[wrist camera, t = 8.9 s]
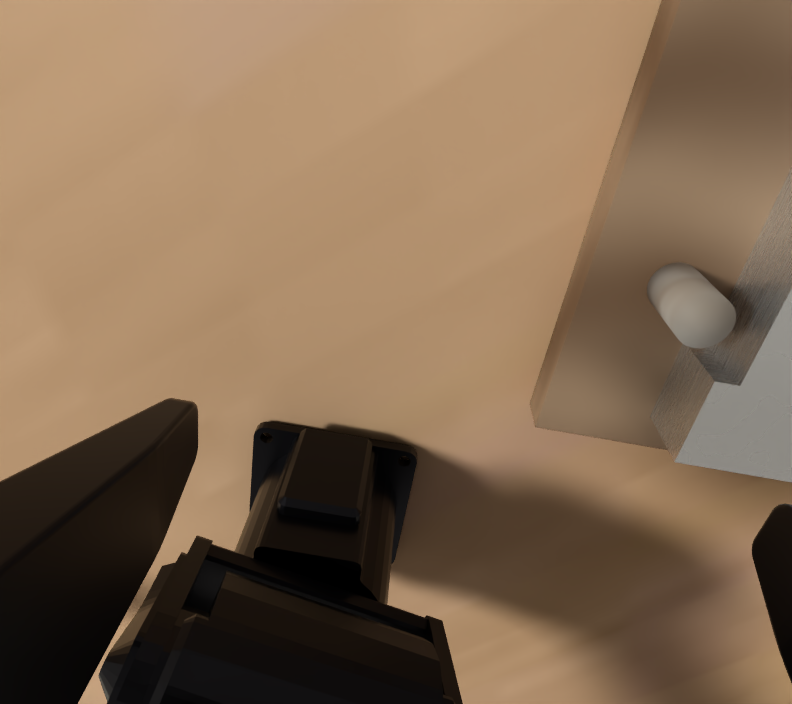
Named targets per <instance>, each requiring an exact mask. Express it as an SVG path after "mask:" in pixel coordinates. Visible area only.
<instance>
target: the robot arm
mask: <svg viewBox="0 0 792 704" xmlns="http://www.w3.org/2000/svg"><path fill="white" fill-rule="evenodd" d="M263 433H269V434H271V435H272V437H267V436H265V435H264V434H263ZM197 450H198V409H197V405H196V404H195V403H194V402H191V401H185V400H180V399H174V398H169V399H166V400H164V401H162V402H160V403H157V404H155V405H153V406H151V407H149V408H147V409H145V410H143V411H141V412H139V413H137V414H135V415H133V416H131V417H129V418H127V419H125V420H123V421H121V422H119V423H117V424H115V425H113V426H111V427H109V428H107V429H105V430H103V431H101V432H99V433H97V434H95V435H93V436H91V437H89V438H87V439H85V440H83V441H81V442H79V443H77V444H75V445H73V446H71V447H69V448H67V449H65V450H63V451H61V452H59V453H57V454H55V455H53V456H51V457H49V458H47V459H45V460H43V461H41V462H39V463H37V464H35V465H33V466H31V467H29V468H26V469H24V470H22V471H20V472H18V473H16V474H14V475H12V476H10V477H8V478H6V479H4V480H2V481H0V704H78V702H79V700H80V698H81V696H82V694H83V692H84V691H85V689H86V687H87V685H88V683H89V681H90V679H91V678H92V676H93V674H94V672H95V670H96V668H97V666H98V664H99V663H100V661H101V659H102V657H103V655H104V653H105V651H106V649H107V648H108V646H109V644H110V642H111V640H112V638H113V636H114V635H115V633H116V631H117V629H118V627H119V625H120V623H121V621H122V620H123V618H124V616H125V614H126V612H127V610H128V608H129V606H130V605H131V603H132V601H133V599H134V597H135V595H136V593H137V592H138V590H139V588H140V586H141V584H142V582H143V580H144V578H145V577H146V575H147V573H148V571H149V569H150V567H151V565H152V564H153V562H154V560H155V558H156V556H157V554H158V552H159V550H160V548H161V545H162V543H163V540H164V538H165V536H166V533H167V531H168V528H169V526H170V523H171V520H172V518H173V515H174V513H175V510H176V508H177V505H178V503H179V500H180V497H181V495H182V492H183V490H184V487H185V485H186V482H187V480H188V477H189V474H190V472H191V469H192V467H193V464H194V462H195V459H196V455H197ZM402 456H406V457H408V458H409V459H408V460H402V459H400V457H402ZM416 464H417V452H416V450H415V449H414V448H412V447H411V446H408V445H403V444H397V443H391V442H385V441H379V440H373V439H368V438H363V437H357V436H351V435H345V434H339V433H334V432H328V431H322V430H316V429H310V428H303V427H297V426H291V425H285V424H280V423H274V422H263V423H260V424H259V425H258V427H257V429H256V431H255V434H254V442H253V460H252V478H251V496H250V513H249V516H248V518H247V521H246V524H245V526H244V529H243V531H242V534H241V536H240V539H239V542H238V544H237V547H236V549H235V552H234V551H231V550H228V549H225V548H222V547H219V546H216V545H214V544H212V542H213V541H212V540H209V539H206V538H203V537H200V536H196V538H195V540H194V542H193V544H192V546H191V548H190V550H189V552H188V553H187V554H185V553H182V552H181V554H180V556H179V558H178V560H177V561H176V563H172V564H168V565H164V566H162V567H161V569H160V571H159V573H158V575H157V577H156V579H155V581H154V583H153V585H152V587H151V589H150V591H149V593H148V595H147V596H146V598H145V600H144V602H143V604H142V606H141V607H140V609H139V611H138V612H137V614H136V615H135V617H134V618H133V619H132V621H131V622H130V624H129V625H128V626H127V628H126V629H125V631H124V632H123V634H122V635H121V636H120V638H119V639H118V641H117V642H116V643H115V645H114V646H113V648H112V649H111V650H110V652H109V654H108V656H107V657H106V659H105V661H104V664H103V666H102V668H101V670H100V673H99V679H100V682H101V685H102V688H103V690H104V693H105V696H106V699H107V704H463V703H462V699H461V695H460V691H459V687H458V683H457V679H456V674H455V670H454V666H453V662H452V658H451V654H450V650H449V646H448V642H447V638H446V634H445V630H444V626H443V622H442V620H439V619H436V618H433V617H430V616H426V617H425V618H424V617H421V616H418V615H415V614H413V613H410V612H407V611H404V610H401V609H398V608H395V607H392V606H389V605H387V601H388V590H389V580H390V569H391V564H392V563H393V562H394V560H395V556H396V552H397V547H398V543H399V539H400V534H401V530H402V526H403V521H404V517H405V512H406V508H407V504H408V499H409V495H410V491H411V486H412V482H413V478H414V473H415V469H416ZM752 557H753V561H754V564H755V568H756V571H757V575H758V578H759V582H760V585H761V589H762V593H763V596H764V600H765V603H766V607H767V610H768V614H769V617H770V621H771V624H772V628H773V632H774V635H775V638H776V641H777V645H778V648H779V651H780V654H781V657H782V659H783V662H784V665H785V668H786V670H787V673H788V675H789V678H790V680H791V683H792V505H790V504H780V505H778V506H777V507H775V508H774V509H773V510H772V512H771V514H770V515H769V517H768V518H767V520H766V521H765V523H764V525H763V526H762V528H761V529H760V531H759V532H758V534H757V536H756V537H755V539H754V541H753V544H752Z"/></svg>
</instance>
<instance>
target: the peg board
mask: <svg viewBox="0 0 792 704" xmlns="http://www.w3.org/2000/svg"><path fill="white" fill-rule="evenodd" d="M791 167H792V0H662V2H661V5H660V8H659V11H658V14H657V17H656V20H655V23H654V26H653V29H652V32H651V35H650V38H649V41H648V44H647V47H646V51H645V54H644V57H643V60H642V63H641V66H640V69H639V72H638V75H637V78H636V81H635V84H634V87H633V90H632V93H631V96H630V99H629V102H628V106H627V109H626V112H625V115H624V118H623V121H622V124H621V127H620V130H619V133H618V136H617V139H616V142H615V145H614V148H613V151H612V154H611V157H610V160H609V164H608V167H607V170H606V173H605V176H604V179H603V182H602V185H601V188H600V191H599V194H598V197H597V200H596V203H595V206H594V209H593V212H592V215H591V219H590V222H589V225H588V228H587V231H586V234H585V237H584V240H583V243H582V246H581V249H580V252H579V255H578V258H577V261H576V264H575V267H574V270H573V274H572V277H571V280H570V283H569V286H568V289H567V292H566V295H565V298H564V301H563V304H562V307H561V310H560V313H559V316H558V319H557V322H556V325H555V329H554V332H553V335H552V338H551V341H550V344H549V347H548V350H547V353H546V356H545V359H544V362H543V365H542V368H541V371H540V374H539V377H538V380H537V384H536V387H535V390H534V393H533V396H532V399H531V402H530V407H531V411H532V415H533V420H534V424H535V427H537V428H542V429H548V430H554V431H560V432H566V433H572V434H577V435H583V436H589V437H595V438H601V439H606V440H612V441H618V442H624V443H630V444H636V445H641V446H647V447H653V448H659V449H665V450H668V449H667V447H666V445H665V443H664V442H663V440H662V438H661V436H660V434H659V432H658V430H657V428H656V426H655V425H654V423H653V421H652V419H651V417H650V415H651V412H652V410H653V408H654V406H655V404H656V401H657V399H658V397H659V395H660V393H661V390H662V388H663V386H664V384H665V382H666V379H667V377H668V375H669V373H670V371H671V368H672V366H673V364H674V362H675V359H676V357H677V355H678V353H679V351H680V348H681V346H682V344H684V345H686V346H689V347H692V348H706V347H710V346H713V345H715V344H717V343H719V342H721V341H722V340H723V339H725V338H726V337H727V336H728V335H729V334H730V332H731V331H732V329H733V327H734V325H735V322H736V311H735V309H734V307H733V305H732V304H731V303H730V302H729V301H728V299H729V297H730V295H731V293H732V290H733V288H734V286H735V284H736V282H737V280H738V278H739V276H740V274H741V272H742V270H743V267H744V265H745V263H746V261H747V259H748V257H749V255H750V253H751V251H752V249H753V246H754V244H755V242H756V240H757V238H758V236H759V234H760V232H761V230H762V228H763V225H764V223H765V221H766V219H767V217H768V215H769V213H770V211H771V209H772V207H773V205H774V202H775V200H776V198H777V196H778V194H779V192H780V190H781V188H782V186H783V184H784V181H785V179H786V177H787V175H788V173H789V171H790V169H791Z"/></svg>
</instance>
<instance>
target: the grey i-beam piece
mask: <svg viewBox="0 0 792 704" xmlns="http://www.w3.org/2000/svg"><path fill="white" fill-rule="evenodd" d="M728 301H729V302H730V303H731V304H732V305H733V307H734V309H735V311H736V322H735V325H734V327H733V329H732V331H731V332H730V334H729V335H728V336H727V337H726V338H725V339H723V340H722V341H721V342H719V343H717V344H715V345H713V346H710V347H706V348H692V347H689V346H686V345H684V344H682V346H681V348H680V351H679V353H678V355H677V357H676V359H675V362H674V364H673V366H672V368H671V371H670V373H669V375H668V377H667V379H666V382H665V384H664V386H663V388H662V390H661V393H660V395H659V397H658V399H657V401H656V404H655V406H654V408H653V410H652V412H651V415H650V417H651V419H652V421H653V423H654V425H655V426H656V428H657V430H658V432H659V434H660V436H661V438H662V440H663V442H664V443H665V445H666V447H667V449H668V451H669V453H670V455H671V457H672V459H673V460H674V462H677V463H683V464H688V465H694V466H700V467H706V468H712V469H717V470H723V471H729V472H735V473H740V474H746V475H752V476H758V477H764V478H769V479H775V480H781V481H787V482H792V167H791V169H790V171H789V173H788V175H787V177H786V179H785V181H784V184H783V186H782V188H781V190H780V192H779V194H778V196H777V198H776V200H775V202H774V205H773V207H772V209H771V211H770V213H769V215H768V217H767V219H766V221H765V223H764V225H763V228H762V230H761V232H760V234H759V236H758V238H757V240H756V242H755V244H754V246H753V249H752V251H751V253H750V255H749V257H748V259H747V261H746V263H745V265H744V267H743V270H742V272H741V274H740V276H739V278H738V280H737V282H736V284H735V286H734V288H733V290H732V293H731V295H730V297H729V299H728Z"/></svg>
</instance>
